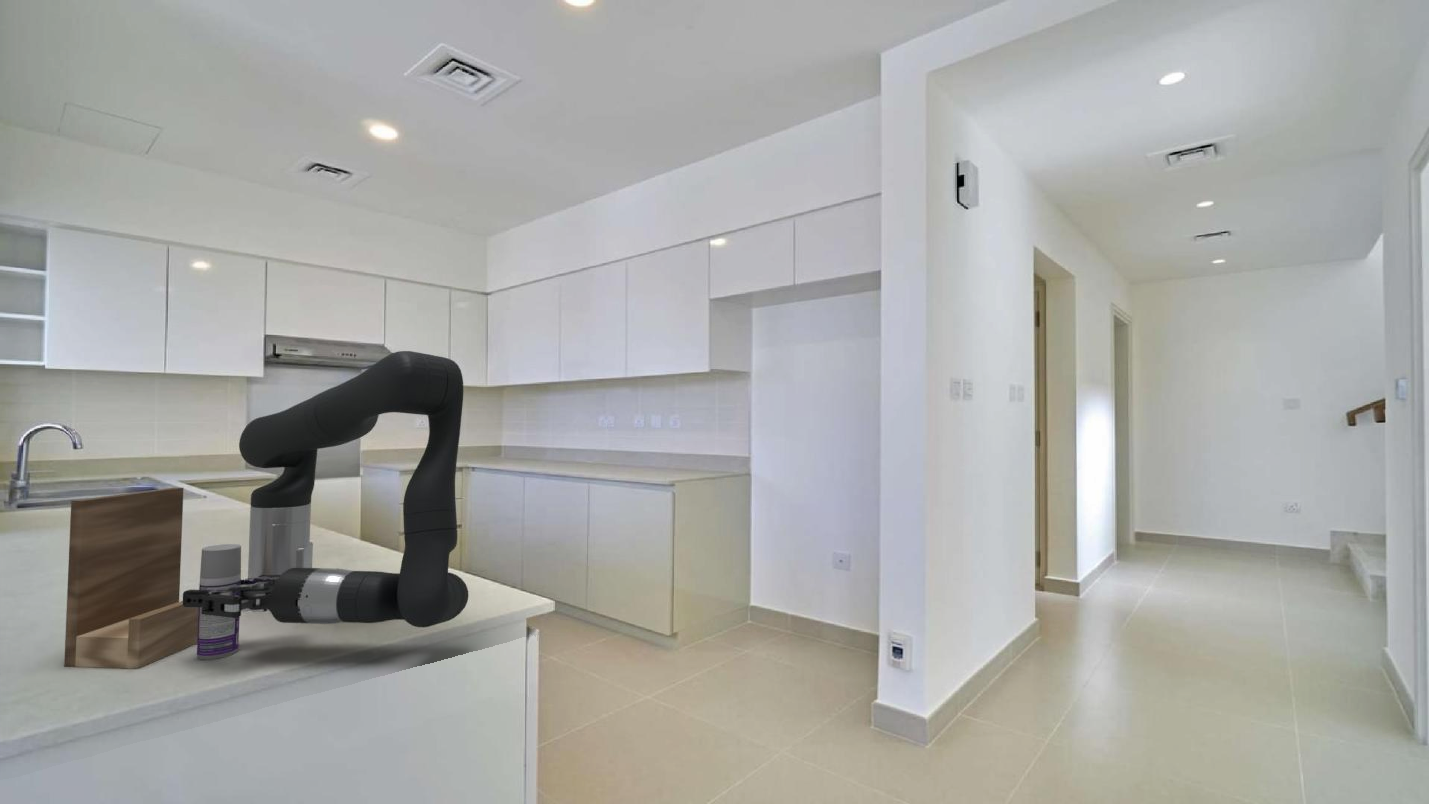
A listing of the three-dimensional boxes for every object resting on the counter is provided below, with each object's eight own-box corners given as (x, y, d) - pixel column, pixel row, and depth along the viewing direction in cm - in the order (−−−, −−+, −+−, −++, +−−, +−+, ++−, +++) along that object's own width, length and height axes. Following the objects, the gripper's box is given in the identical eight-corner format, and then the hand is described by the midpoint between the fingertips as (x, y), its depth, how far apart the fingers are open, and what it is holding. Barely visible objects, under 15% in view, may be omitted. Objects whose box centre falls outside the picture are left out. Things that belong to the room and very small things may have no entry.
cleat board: (231, 628, 101) (236, 488, 102) (137, 668, 85) (144, 502, 86) (168, 627, 101) (174, 487, 102) (64, 666, 85) (71, 500, 86)
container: (211, 647, 93) (215, 543, 93) (245, 647, 93) (249, 543, 94) (188, 659, 88) (192, 550, 89) (224, 659, 89) (228, 550, 89)
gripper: (350, 557, 98) (240, 555, 98) (285, 582, 84) (157, 578, 84) (348, 607, 98) (239, 604, 98) (283, 639, 84) (155, 636, 84)
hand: (202, 592), depth 91 cm, fingers open, 5 cm apart
